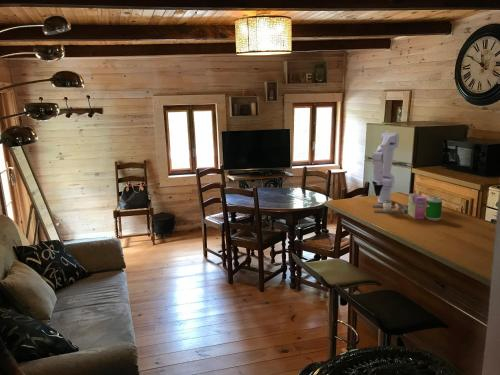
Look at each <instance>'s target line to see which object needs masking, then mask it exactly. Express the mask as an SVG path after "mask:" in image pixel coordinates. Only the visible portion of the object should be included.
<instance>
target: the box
mask: <svg viewBox="0 0 500 375" xmlns="http://www.w3.org/2000/svg"><path fill="white" fill-rule="evenodd" d="M407 205H408V206H407V209H408V215H409V216H411V217H412V218H413V219H414V220H416V219H417V220H420V219H421V220H423V219H425V218H426V206H427V198H426V197H425V196H423V195H422V194H420V193H409V194H408V204H407Z"/></svg>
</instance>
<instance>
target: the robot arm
mask: <svg viewBox="0 0 500 375" xmlns="http://www.w3.org/2000/svg"><path fill="white" fill-rule="evenodd" d="M380 141H381V144H379V145H378V147H377V148H376V151H374V152H373V153H372V156H371V159H372V165H373V166H372V167H373V168H372V178H371V179H370V181H371V183H372V186H373V190H374V193H375V196H376V197H378V198H377V200H376V201H377V203H378V204H383V200H391V198H392V197H391V195H392V189H393V188H394V186H395V176H394V175H393V174H392V173H391V172H392V165H393V160H394V159H393V158H394V153H395V150H396V148H398V146H399V142H400V134H399V132H382V134H381V140H380ZM391 201H392V200H391ZM392 203H393V202H391V204H392Z"/></svg>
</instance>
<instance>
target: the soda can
mask: <svg viewBox="0 0 500 375" xmlns="http://www.w3.org/2000/svg"><path fill="white" fill-rule="evenodd" d="M442 209H443V199H442V198H441V197H440V196H428V198H426V207H425V218H426V219H427V220H429V221H432V222H433V221H434V222H435V221H436V222H437V221H440V220H441V219H442V211H443V210H442Z"/></svg>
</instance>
